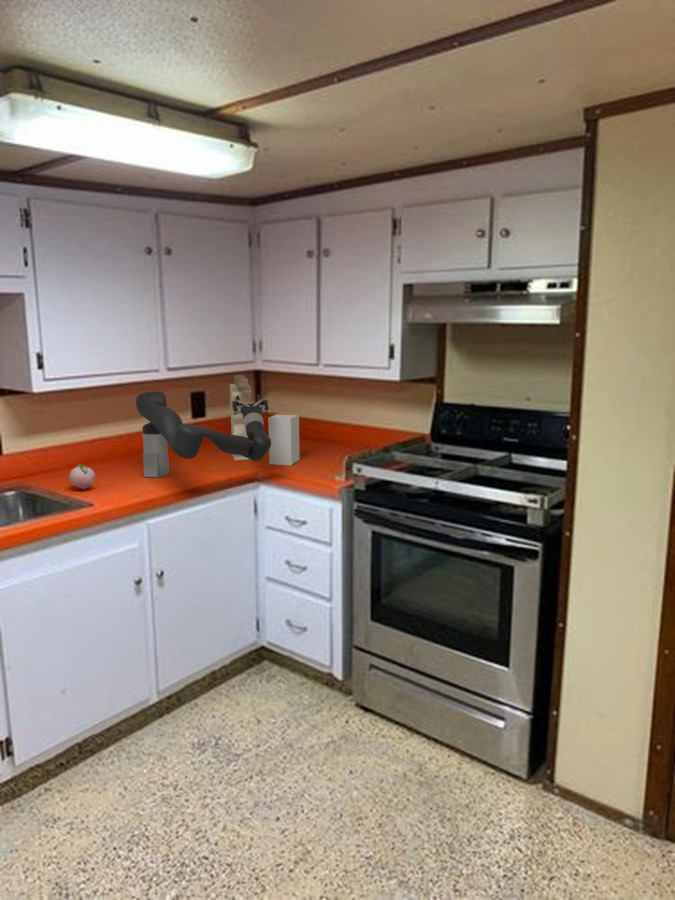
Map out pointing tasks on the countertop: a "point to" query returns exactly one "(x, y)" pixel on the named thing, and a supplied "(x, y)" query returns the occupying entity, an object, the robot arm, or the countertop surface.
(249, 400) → the tall stand
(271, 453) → the short block
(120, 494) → the countertop surface
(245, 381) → the long wooden bar
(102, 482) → the countertop surface
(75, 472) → the decorative fruit
